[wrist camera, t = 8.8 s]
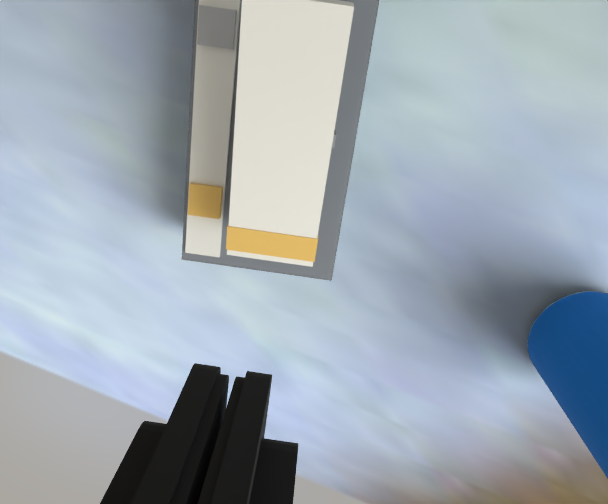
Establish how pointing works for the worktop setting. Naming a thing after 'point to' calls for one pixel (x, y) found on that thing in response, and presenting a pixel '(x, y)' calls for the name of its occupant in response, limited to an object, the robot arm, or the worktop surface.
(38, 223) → the worktop surface
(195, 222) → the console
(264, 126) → the block
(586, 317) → the beverage can
